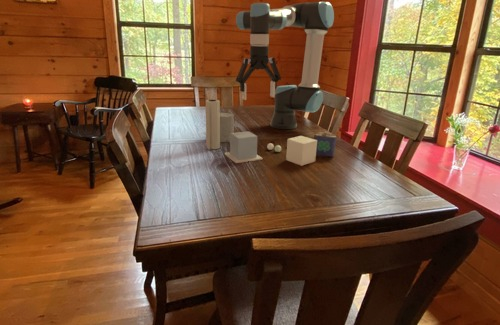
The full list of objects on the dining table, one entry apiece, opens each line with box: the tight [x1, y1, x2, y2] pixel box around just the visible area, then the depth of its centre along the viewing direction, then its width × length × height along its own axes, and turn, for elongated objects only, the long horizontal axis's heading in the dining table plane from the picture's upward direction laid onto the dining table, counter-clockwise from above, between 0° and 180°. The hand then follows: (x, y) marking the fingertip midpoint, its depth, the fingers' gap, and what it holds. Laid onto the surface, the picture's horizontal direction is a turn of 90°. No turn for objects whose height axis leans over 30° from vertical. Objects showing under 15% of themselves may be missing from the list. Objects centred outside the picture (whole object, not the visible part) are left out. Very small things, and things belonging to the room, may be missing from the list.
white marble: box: [266, 142, 275, 151], centre depth 147 cm, size 3×3×3 cm
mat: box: [224, 151, 263, 164], centre depth 138 cm, size 12×12×1 cm
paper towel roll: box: [205, 99, 221, 151], centre depth 144 cm, size 7×6×21 cm
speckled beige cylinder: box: [220, 112, 235, 143], centre depth 159 cm, size 10×10×12 cm
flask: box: [313, 131, 337, 158], centre depth 140 cm, size 9×3×11 cm, turn 74°
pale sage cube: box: [229, 130, 258, 160], centre depth 136 cm, size 8×8×9 cm
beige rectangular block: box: [285, 135, 317, 167], centre depth 134 cm, size 8×8×9 cm
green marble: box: [274, 144, 282, 153], centre depth 145 cm, size 3×3×3 cm
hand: (258, 98), depth 141 cm, fingers open, 13 cm apart
